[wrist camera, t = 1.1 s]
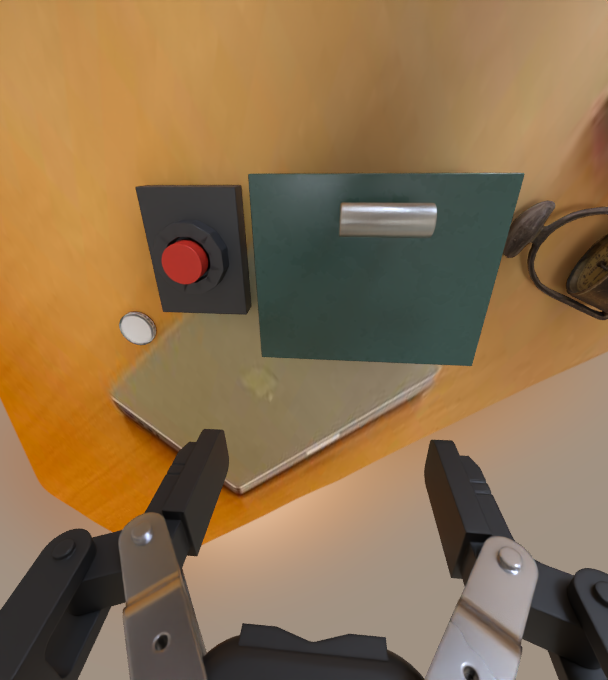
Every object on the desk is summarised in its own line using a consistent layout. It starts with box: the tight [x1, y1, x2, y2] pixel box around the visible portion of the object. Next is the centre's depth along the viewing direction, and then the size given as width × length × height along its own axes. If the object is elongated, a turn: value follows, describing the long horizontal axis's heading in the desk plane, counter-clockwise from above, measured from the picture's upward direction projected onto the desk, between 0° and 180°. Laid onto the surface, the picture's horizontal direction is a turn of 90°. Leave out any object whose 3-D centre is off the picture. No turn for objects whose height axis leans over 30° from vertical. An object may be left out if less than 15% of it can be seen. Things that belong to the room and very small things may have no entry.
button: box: [162, 240, 208, 284], centre depth 30 cm, size 4×4×2 cm
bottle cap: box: [119, 312, 156, 345], centre depth 38 cm, size 4×4×1 cm
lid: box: [248, 173, 524, 366], centre depth 22 cm, size 14×17×5 cm
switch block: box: [136, 185, 251, 315], centre depth 32 cm, size 12×9×4 cm
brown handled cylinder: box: [503, 201, 608, 320], centre depth 27 cm, size 7×13×10 cm
